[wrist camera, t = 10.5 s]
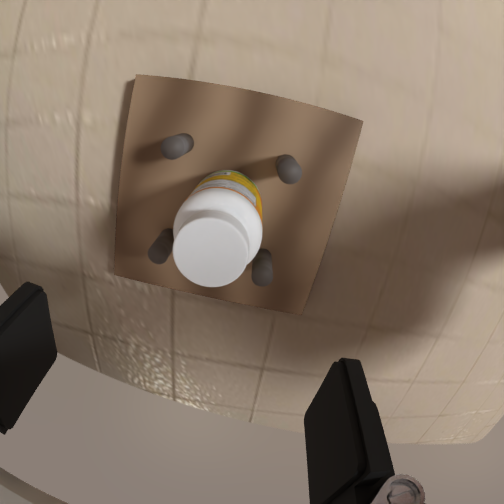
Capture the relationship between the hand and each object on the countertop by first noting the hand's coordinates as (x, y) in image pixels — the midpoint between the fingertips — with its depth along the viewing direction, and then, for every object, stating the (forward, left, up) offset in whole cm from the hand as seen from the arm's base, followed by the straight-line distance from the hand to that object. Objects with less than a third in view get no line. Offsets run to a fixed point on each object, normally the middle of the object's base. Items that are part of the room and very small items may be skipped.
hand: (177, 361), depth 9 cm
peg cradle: (0, 0, -19) cm, 19 cm away
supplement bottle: (0, 0, -18) cm, 18 cm away
